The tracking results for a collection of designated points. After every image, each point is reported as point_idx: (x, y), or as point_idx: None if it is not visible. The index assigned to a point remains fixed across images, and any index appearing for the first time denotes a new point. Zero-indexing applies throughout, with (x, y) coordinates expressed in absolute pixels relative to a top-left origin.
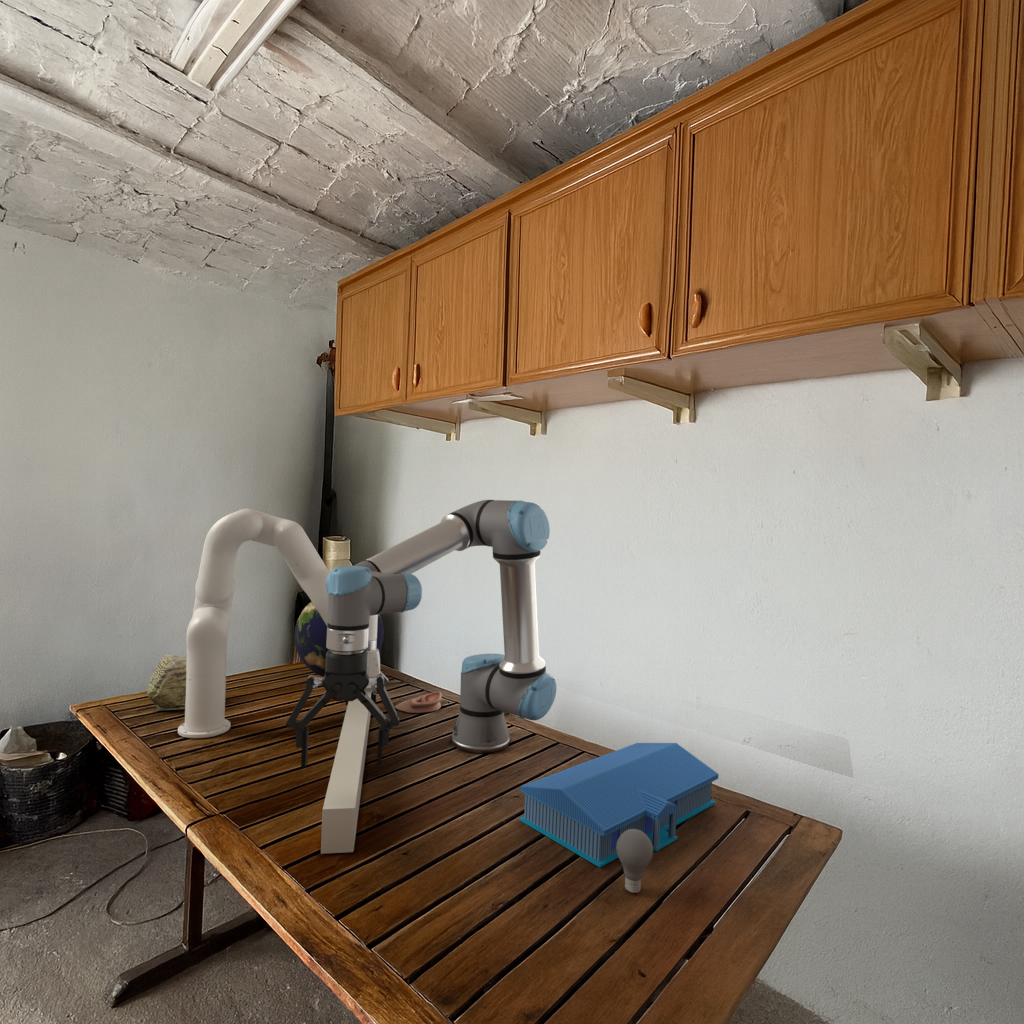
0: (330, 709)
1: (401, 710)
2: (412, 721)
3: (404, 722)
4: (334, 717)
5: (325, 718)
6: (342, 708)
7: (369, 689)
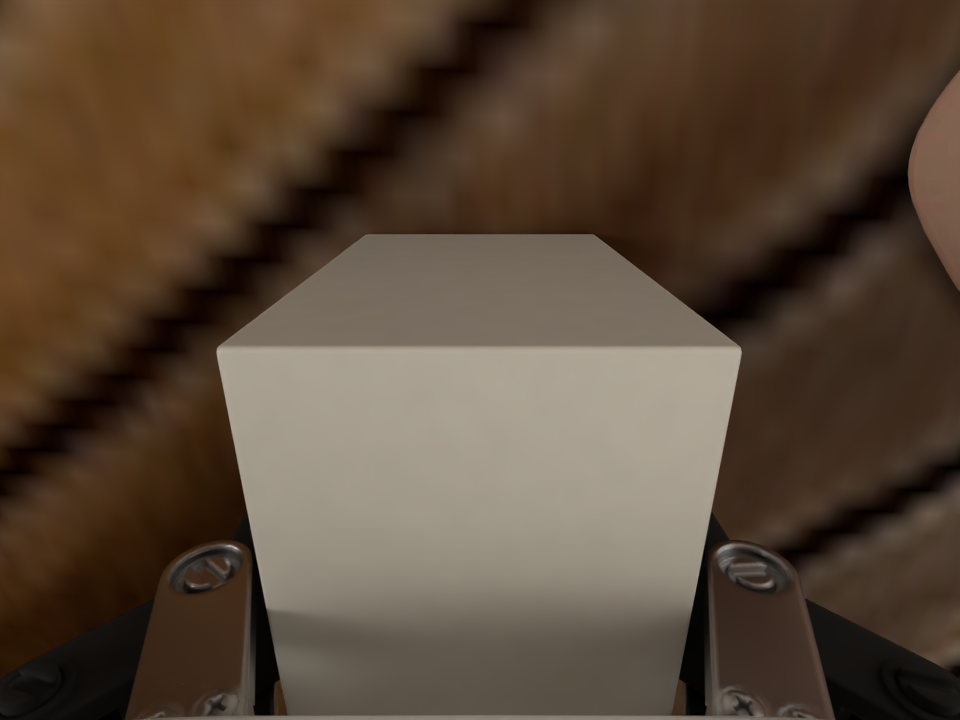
0: (92, 147)
1: (953, 282)
2: (953, 541)
3: (874, 558)
4: (223, 413)
5: (143, 435)
6: (232, 112)
7: (638, 699)
